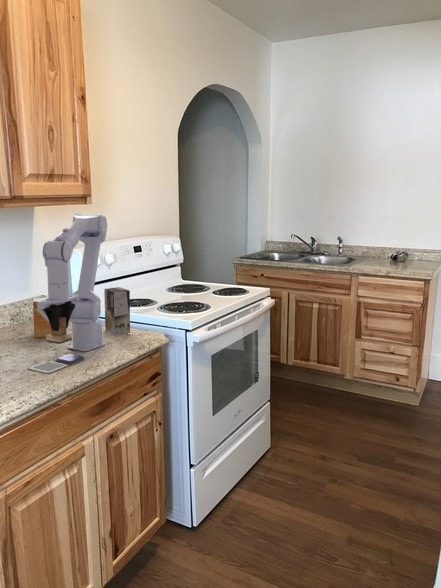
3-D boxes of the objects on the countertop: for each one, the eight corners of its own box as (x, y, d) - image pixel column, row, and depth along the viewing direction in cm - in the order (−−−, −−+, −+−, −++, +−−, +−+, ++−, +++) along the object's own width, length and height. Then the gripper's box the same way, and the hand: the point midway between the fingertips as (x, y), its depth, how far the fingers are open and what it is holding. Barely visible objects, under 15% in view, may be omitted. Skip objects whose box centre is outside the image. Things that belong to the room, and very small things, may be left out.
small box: (34, 338, 172) (32, 301, 170) (34, 333, 178) (33, 297, 176) (58, 336, 175) (57, 300, 173) (58, 332, 181) (57, 297, 179)
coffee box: (130, 334, 180) (130, 290, 178) (114, 336, 177) (113, 291, 174) (120, 328, 188) (120, 286, 185) (104, 330, 184) (103, 287, 181)
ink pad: (69, 356, 152) (69, 353, 152) (84, 359, 150) (84, 356, 150) (55, 362, 147) (54, 358, 147) (70, 365, 145) (70, 361, 144)
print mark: (48, 361, 148) (48, 360, 148) (69, 365, 144) (69, 364, 144) (27, 369, 141) (27, 368, 141) (48, 374, 137) (48, 372, 137)
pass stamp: (59, 338, 148) (58, 315, 147) (71, 340, 146) (71, 316, 145) (46, 341, 144) (45, 318, 142) (59, 344, 141) (58, 320, 140)
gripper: (65, 278, 150) (67, 322, 152) (28, 284, 137) (30, 332, 139) (84, 280, 147) (85, 325, 149) (47, 287, 134) (49, 335, 136)
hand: (59, 329), depth 144 cm, fingers closed on pass stamp, 3 cm apart
